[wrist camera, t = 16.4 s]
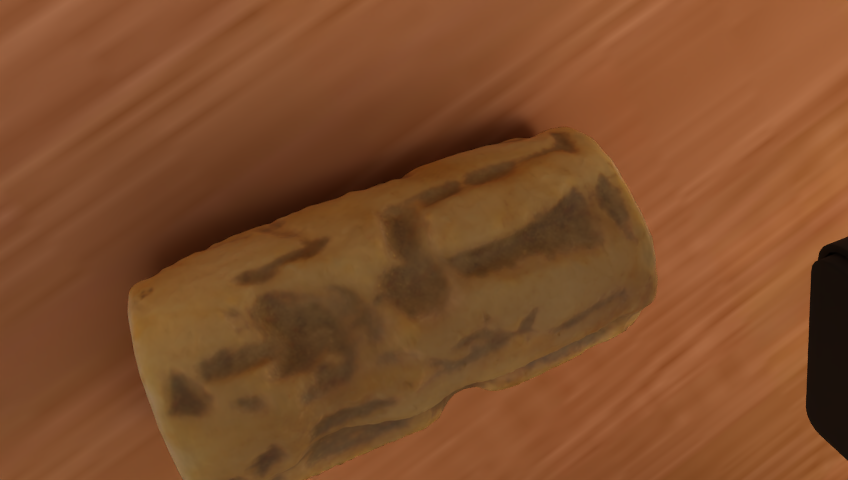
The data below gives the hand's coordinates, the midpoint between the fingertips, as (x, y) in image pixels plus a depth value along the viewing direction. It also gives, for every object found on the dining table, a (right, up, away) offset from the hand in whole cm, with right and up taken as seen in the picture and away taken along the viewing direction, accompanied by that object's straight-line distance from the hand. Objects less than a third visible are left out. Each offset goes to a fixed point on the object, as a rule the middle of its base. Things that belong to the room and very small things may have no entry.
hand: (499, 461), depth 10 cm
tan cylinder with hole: (-2, +3, +5) cm, 6 cm away
